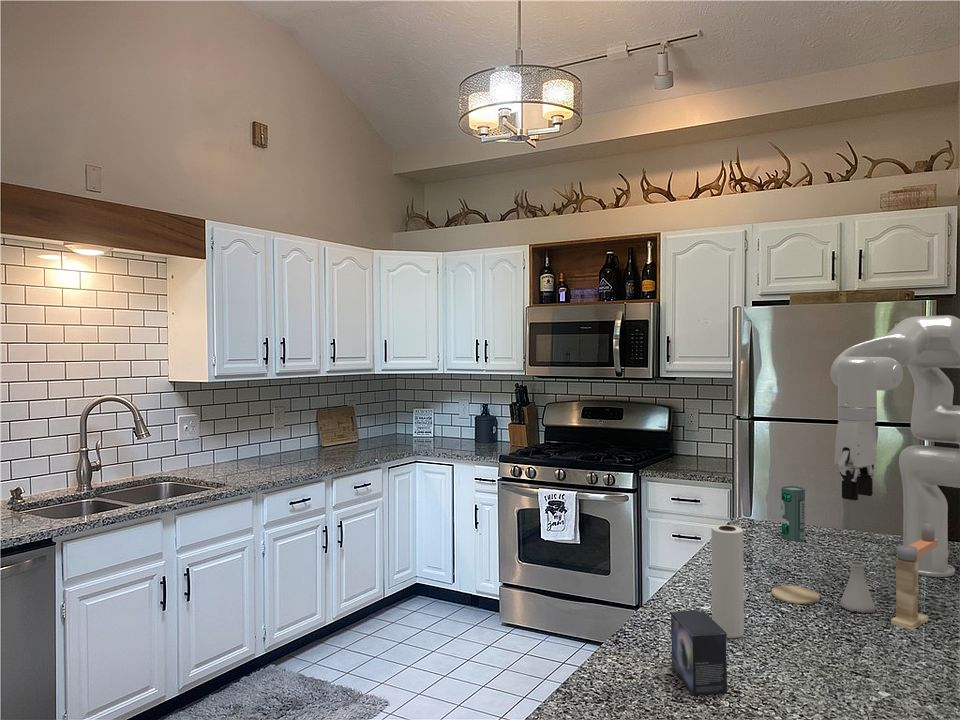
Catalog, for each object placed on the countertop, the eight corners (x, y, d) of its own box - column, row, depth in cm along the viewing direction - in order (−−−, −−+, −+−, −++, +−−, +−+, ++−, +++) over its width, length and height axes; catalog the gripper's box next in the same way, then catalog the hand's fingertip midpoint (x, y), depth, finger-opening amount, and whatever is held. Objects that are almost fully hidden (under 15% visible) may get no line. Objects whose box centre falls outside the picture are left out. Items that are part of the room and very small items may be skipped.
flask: (881, 615, 149) (881, 568, 149) (844, 613, 151) (844, 567, 151) (869, 602, 157) (869, 558, 156) (834, 600, 158) (834, 556, 158)
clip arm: (940, 546, 153) (940, 524, 153) (913, 562, 143) (913, 537, 143) (922, 543, 156) (922, 521, 156) (894, 558, 146) (894, 534, 146)
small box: (668, 667, 127) (668, 610, 127) (703, 665, 128) (703, 608, 127) (691, 696, 117) (690, 634, 116) (729, 694, 117) (728, 632, 117)
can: (784, 534, 212) (784, 485, 212) (806, 537, 209) (806, 487, 208) (780, 539, 207) (779, 488, 207) (802, 542, 204) (802, 491, 203)
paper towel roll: (728, 641, 137) (728, 533, 137) (705, 630, 143) (704, 526, 142) (754, 634, 141) (754, 528, 140) (731, 623, 146) (730, 521, 146)
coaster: (786, 585, 168) (786, 582, 168) (827, 597, 160) (827, 594, 160) (763, 595, 162) (763, 592, 162) (805, 608, 154) (805, 604, 154)
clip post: (907, 614, 149) (907, 554, 149) (928, 620, 146) (928, 558, 146) (890, 624, 145) (890, 561, 144) (912, 630, 141) (912, 566, 141)
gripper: (857, 411, 161) (858, 489, 161) (820, 416, 151) (820, 500, 151) (892, 413, 155) (892, 494, 155) (856, 419, 145) (856, 506, 145)
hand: (857, 496), depth 153 cm, fingers open, 6 cm apart
